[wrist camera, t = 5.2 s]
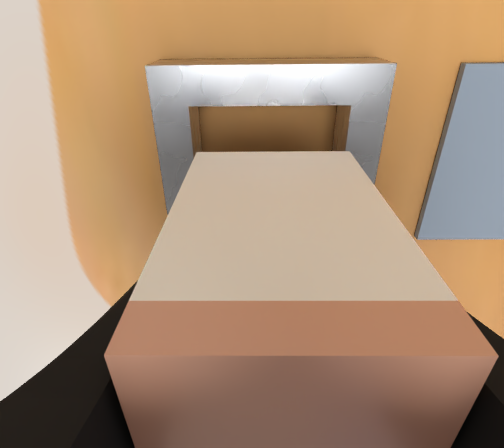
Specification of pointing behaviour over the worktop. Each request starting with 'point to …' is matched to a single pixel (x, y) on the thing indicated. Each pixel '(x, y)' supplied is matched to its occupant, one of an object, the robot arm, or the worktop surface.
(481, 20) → the worktop surface
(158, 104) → the frame
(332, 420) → the beige pink box
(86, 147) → the worktop surface
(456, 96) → the rubber mat
